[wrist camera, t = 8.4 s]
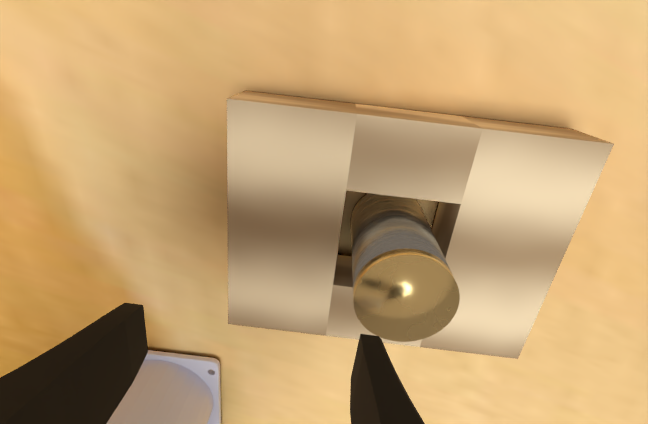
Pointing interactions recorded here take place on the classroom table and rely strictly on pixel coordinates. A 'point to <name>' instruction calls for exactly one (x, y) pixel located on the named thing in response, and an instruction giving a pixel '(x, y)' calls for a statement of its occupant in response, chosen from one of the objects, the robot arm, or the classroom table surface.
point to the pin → (399, 270)
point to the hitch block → (402, 181)
